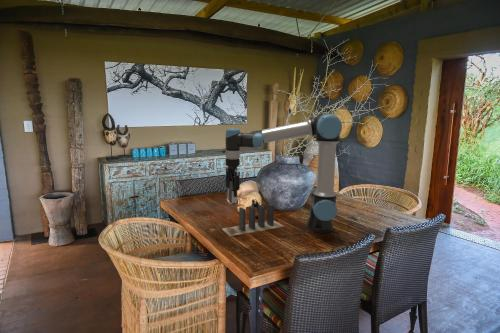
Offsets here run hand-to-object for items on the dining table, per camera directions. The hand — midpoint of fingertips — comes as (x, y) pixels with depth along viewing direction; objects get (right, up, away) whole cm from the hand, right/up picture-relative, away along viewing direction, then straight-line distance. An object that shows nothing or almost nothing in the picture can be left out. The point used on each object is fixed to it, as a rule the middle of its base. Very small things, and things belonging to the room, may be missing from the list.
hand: (232, 201), depth 174 cm
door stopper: (+12, -14, +26) cm, 32 cm away
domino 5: (+21, -15, +14) cm, 29 cm away
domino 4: (+16, -16, +11) cm, 25 cm away
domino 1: (0, -1, 0) cm, 1 cm away
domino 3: (+10, -16, +8) cm, 21 cm away
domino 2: (+5, -16, +6) cm, 18 cm away
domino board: (+11, -17, +9) cm, 22 cm away
